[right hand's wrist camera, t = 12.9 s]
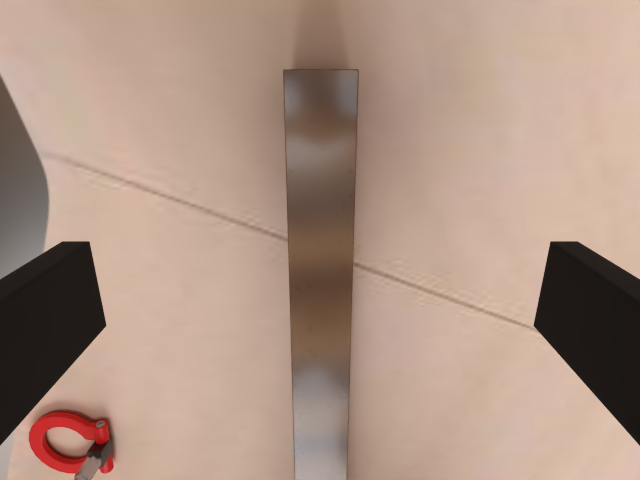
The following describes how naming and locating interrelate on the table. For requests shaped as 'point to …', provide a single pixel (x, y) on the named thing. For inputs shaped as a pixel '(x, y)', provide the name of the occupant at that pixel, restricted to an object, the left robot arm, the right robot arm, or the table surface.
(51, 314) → the right robot arm
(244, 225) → the table surface
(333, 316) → the post
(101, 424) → the tow hook
